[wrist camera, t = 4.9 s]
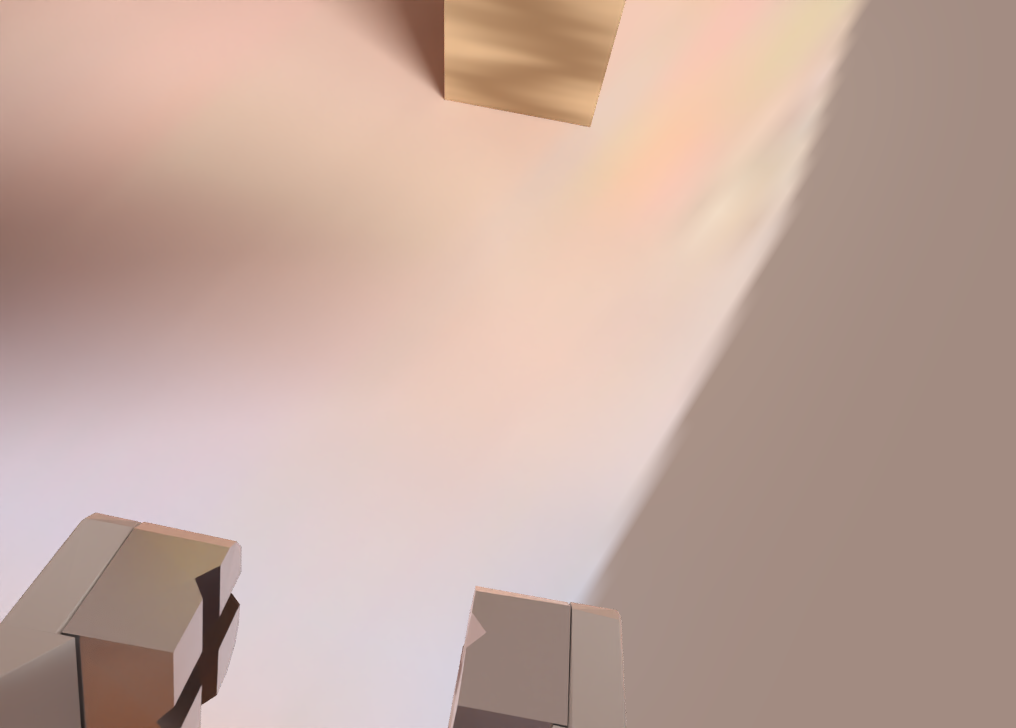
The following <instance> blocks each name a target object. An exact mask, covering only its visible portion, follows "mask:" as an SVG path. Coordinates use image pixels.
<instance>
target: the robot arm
mask: <svg viewBox="0 0 1016 728" xmlns="http://www.w3.org/2000/svg"><path fill="white" fill-rule="evenodd" d="M240 573H241V546H240V545H239V543H238V542H237V541H232V540H227V539H223V538H218V537H213V536H208V535H204V534H199V533H194V532H189V531H185V530H180V529H175V528H171V527H166V526H161V525H156V524H152V523H147V522H143V523H141V522H137V521H132V520H128V519H123V518H118V517H114V516H109V515H104V514H100V513H94V514H92V515H90V516H88V517H87V518H85V519H83V520H82V521H81V522H80V523H79V525H78V526H77V527H76V528H75V530H74V531H73V532H72V533H71V535H70V536H69V537H68V538H67V540H66V541H65V542H64V544H63V545H62V546H61V547H60V549H59V550H58V551H57V552H56V554H55V555H54V556H53V557H52V559H51V560H50V561H49V563H48V564H47V565H46V566H45V568H44V569H43V570H42V571H41V573H40V574H39V575H38V576H37V578H36V579H35V580H34V581H33V583H32V584H31V585H30V587H29V588H28V589H27V590H26V592H25V593H24V594H23V595H22V597H21V598H20V599H19V600H18V602H17V603H16V604H15V606H14V607H13V608H12V609H11V611H10V612H9V613H8V614H7V616H6V617H5V618H4V619H3V621H2V622H1V623H0V728H200V725H201V705H202V704H204V703H205V702H207V701H209V700H210V699H212V698H213V697H215V696H216V695H217V693H218V691H219V689H220V687H221V684H222V682H223V680H224V677H225V675H226V673H227V670H228V666H229V663H230V660H231V656H232V653H233V650H234V646H235V642H236V636H237V630H238V624H239V611H240V604H239V603H238V601H237V600H236V598H235V597H234V596H233V594H232V593H231V592H232V590H233V588H234V586H235V584H236V582H237V580H238V578H239V576H240ZM621 625H622V624H621V616H620V615H619V613H618V611H617V610H614V609H608V608H602V607H596V606H590V605H584V604H578V603H573V602H570V604H568V603H567V602H563V601H557V600H551V599H546V598H540V597H535V596H529V595H524V594H518V593H512V592H507V591H501V590H496V589H490V588H484V587H479V586H476V587H475V591H474V595H473V600H472V605H471V609H470V614H469V620H468V625H467V631H466V637H465V643H464V646H463V649H462V654H461V659H460V665H459V670H458V675H457V680H456V685H455V690H454V695H453V701H452V707H451V713H450V719H449V724H448V728H626V709H625V687H624V666H623V646H622V626H621Z"/></svg>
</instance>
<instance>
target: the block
mask: <svg viewBox="0 0 1016 728" xmlns="http://www.w3.org/2000/svg"><path fill="white" fill-rule="evenodd" d="M625 1H626V0H444V98H445V99H446V100H451V101H456V102H462V103H467V104H472V105H477V106H483V107H488V108H493V109H498V110H504V111H509V112H514V113H520V114H525V115H530V116H535V117H541V118H546V119H551V120H557V121H562V122H567V123H572V124H578V125H583V126H588V127H590V125H591V122H592V118H593V115H594V111H595V108H596V104H597V101H598V97H599V93H600V90H601V86H602V83H603V79H604V76H605V72H606V69H607V65H608V62H609V58H610V54H611V51H612V47H613V44H614V40H615V37H616V33H617V30H618V26H619V23H620V19H621V16H622V12H623V8H624V5H625Z"/></svg>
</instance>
